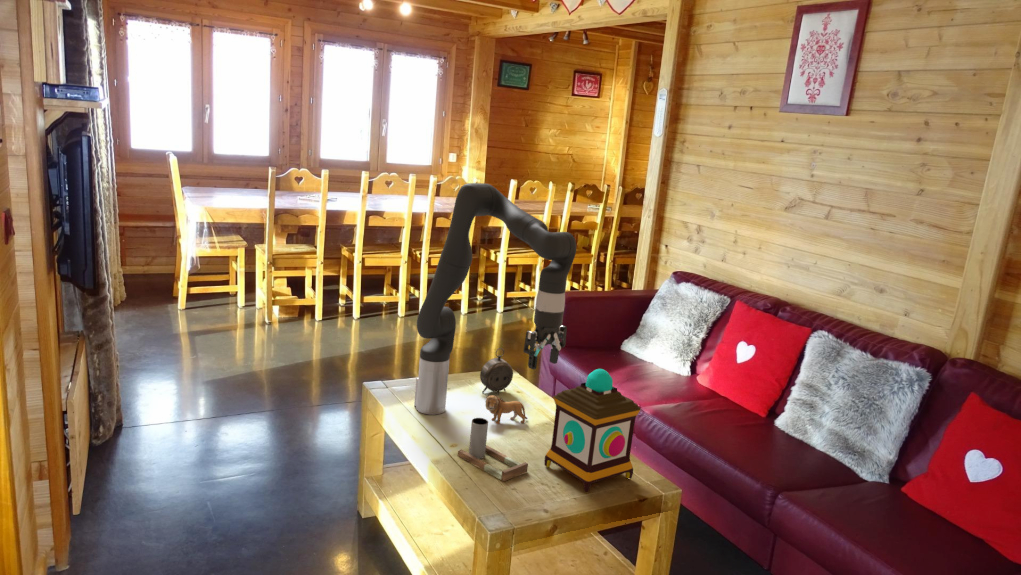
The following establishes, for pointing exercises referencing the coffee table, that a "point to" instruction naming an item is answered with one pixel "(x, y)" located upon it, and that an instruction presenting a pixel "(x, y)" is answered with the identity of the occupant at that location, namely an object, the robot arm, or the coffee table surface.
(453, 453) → the coffee table surface
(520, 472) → the guide channel
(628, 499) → the coffee table surface
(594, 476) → the decorative lantern
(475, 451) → the grey hollow cylinder
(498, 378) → the alarm clock
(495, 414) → the lion figurine
